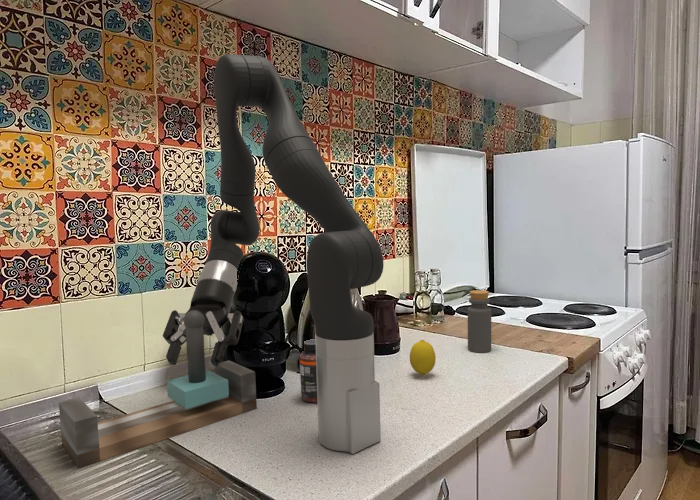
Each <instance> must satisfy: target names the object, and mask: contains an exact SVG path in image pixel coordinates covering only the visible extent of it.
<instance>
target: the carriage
mask: <svg viewBox="0 0 700 500" xmlns="http://www.w3.org/2000/svg"><path fill="white" fill-rule="evenodd" d="M204 320H205V319H204V316H203V314H202V313H201V312H199V311H196V310H193V311H190V312H188V313H187V314H186V315H185V317H184V320H183V324H184V325H185V327H186V342H185V343H186V355H187V356H186V357H187V358H186V361H187V374H185V375H183V376H182V375H181V376H180V377H173V378H171V379H167V380H166V389H167V393H166V394H167V397H168V398H170V399H171V401H175V402H177V403H178V404H179V405H181V406H182V407H184V408H185V409H188V408H191V407H195V406H198V405H201V404H204V403H208V402H211V401H214V400H218V399H221V398H224V397H228V396H229V389H228V380H227V379H225V378H223V377H221V376H219V375H217V374H216V372H213V371H211V370H209V369H206V355H205V354H206V352H205V339H204V338H205V335H204V333H203V324H204Z"/></svg>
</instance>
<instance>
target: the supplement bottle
mask: <svg viewBox="0 0 700 500" xmlns="http://www.w3.org/2000/svg"><path fill="white" fill-rule="evenodd" d="M299 375H300V379H299V380H300V395H301V399H302V400H303V401H305V402H308V403H317V373H316V340H315V339H310V340H306V341H304V351H302V352H301V353H300V354H299Z"/></svg>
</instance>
